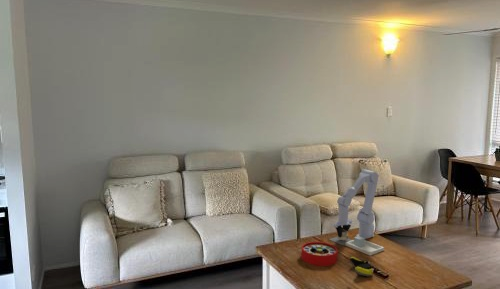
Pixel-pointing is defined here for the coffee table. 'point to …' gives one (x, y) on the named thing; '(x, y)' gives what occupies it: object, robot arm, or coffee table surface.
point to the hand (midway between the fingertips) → (342, 236)
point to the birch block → (344, 235)
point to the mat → (339, 241)
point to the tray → (366, 247)
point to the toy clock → (319, 253)
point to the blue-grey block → (359, 241)
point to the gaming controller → (362, 267)
